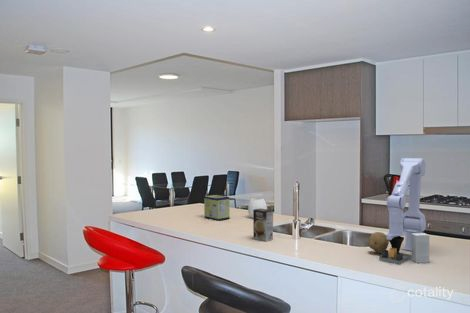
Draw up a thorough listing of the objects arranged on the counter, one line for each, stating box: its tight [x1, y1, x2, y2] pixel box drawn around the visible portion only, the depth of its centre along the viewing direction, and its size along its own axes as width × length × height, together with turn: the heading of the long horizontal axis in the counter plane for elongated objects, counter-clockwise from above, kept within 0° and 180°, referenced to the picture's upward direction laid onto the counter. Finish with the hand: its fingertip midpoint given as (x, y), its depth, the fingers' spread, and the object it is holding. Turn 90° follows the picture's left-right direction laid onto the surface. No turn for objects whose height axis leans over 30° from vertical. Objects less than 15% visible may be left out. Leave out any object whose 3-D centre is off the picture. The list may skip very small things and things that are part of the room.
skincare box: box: [411, 232, 430, 264], centre depth 174 cm, size 6×4×12 cm
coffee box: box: [252, 208, 274, 243], centre depth 217 cm, size 9×6×16 cm
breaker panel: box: [378, 249, 412, 265], centre depth 178 cm, size 13×9×4 cm
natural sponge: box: [367, 231, 390, 255], centre depth 188 cm, size 9×9×10 cm
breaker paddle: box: [388, 247, 397, 258], centre depth 176 cm, size 3×2×4 cm, turn 134°
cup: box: [247, 197, 268, 219], centre depth 280 cm, size 13×13×14 cm
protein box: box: [203, 194, 231, 222], centre depth 279 cm, size 10×16×16 cm
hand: (395, 253), depth 178 cm, fingers closed
